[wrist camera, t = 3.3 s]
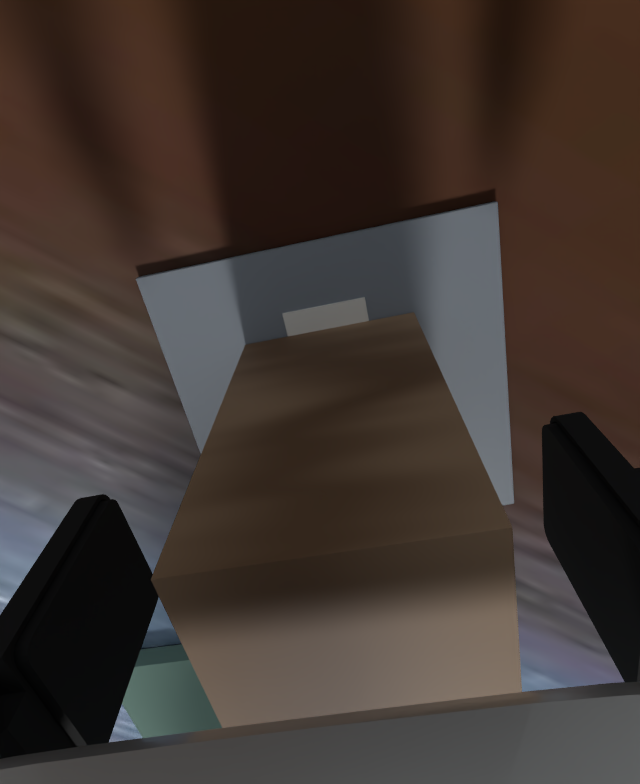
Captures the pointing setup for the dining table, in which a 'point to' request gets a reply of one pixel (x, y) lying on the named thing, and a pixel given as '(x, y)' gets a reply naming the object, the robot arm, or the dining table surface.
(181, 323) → the tile
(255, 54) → the dining table surface
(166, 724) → the place mat
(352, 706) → the walnut block
